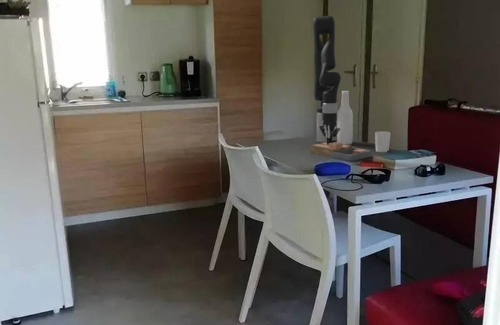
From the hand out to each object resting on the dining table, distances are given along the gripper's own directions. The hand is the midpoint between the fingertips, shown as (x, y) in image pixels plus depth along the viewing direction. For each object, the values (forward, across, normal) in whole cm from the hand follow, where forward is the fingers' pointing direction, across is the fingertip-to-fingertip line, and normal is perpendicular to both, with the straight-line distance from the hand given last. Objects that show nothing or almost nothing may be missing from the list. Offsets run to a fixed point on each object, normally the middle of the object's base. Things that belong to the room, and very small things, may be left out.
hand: (329, 144), depth 268 cm
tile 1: (+1, -4, 0) cm, 4 cm away
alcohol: (+5, +14, -27) cm, 31 cm away
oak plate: (+5, +2, -3) cm, 6 cm away
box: (+5, -12, -3) cm, 14 cm away
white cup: (+5, -14, -26) cm, 30 cm away
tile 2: (+2, -14, -8) cm, 16 cm away
